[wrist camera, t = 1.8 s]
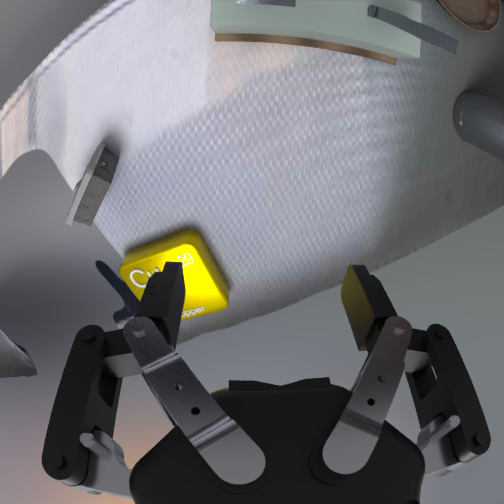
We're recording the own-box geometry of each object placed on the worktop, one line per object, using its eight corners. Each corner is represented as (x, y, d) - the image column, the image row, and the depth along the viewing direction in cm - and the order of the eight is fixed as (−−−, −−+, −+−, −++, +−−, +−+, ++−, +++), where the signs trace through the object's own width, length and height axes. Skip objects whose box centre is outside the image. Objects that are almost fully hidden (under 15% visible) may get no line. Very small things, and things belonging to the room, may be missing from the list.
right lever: (404, 15, 20) (461, 41, 14) (401, 26, 21) (456, 56, 15) (368, 3, 20) (419, 22, 13) (366, 15, 21) (415, 38, 15)
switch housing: (398, 9, 24) (421, 3, 19) (396, 58, 28) (419, 58, 23) (218, -19, 23) (213, -35, 18) (215, 33, 27) (210, 25, 22)
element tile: (163, 310, 55) (159, 328, 51) (121, 252, 47) (112, 269, 43) (233, 291, 52) (232, 310, 49) (196, 224, 44) (191, 240, 40)
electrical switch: (102, 139, 35) (76, 162, 28) (130, 156, 38) (110, 182, 30) (79, 188, 39) (55, 219, 32) (105, 203, 42) (85, 236, 34)
